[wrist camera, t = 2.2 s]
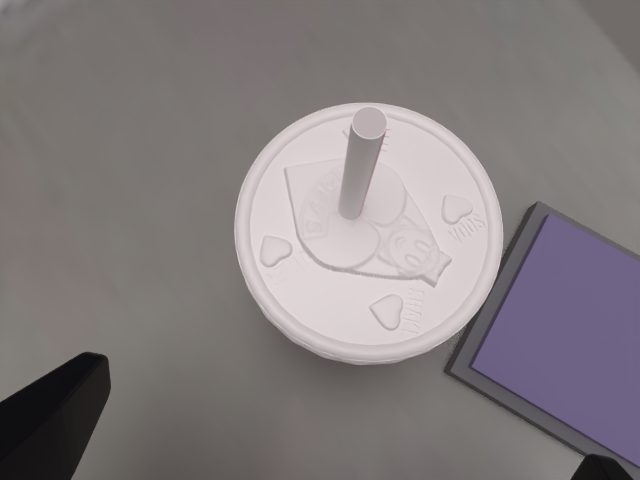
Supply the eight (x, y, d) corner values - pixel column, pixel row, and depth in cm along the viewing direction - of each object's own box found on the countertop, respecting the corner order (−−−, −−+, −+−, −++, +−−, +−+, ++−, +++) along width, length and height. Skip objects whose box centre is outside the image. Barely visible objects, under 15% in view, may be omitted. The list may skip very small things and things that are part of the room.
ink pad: (628, 482, 19) (654, 491, 18) (443, 371, 20) (453, 371, 19) (702, 303, 21) (731, 298, 20) (528, 208, 22) (543, 196, 21)
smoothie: (324, 186, 22) (342, -100, 9) (450, 268, 21) (687, 94, 8) (236, 307, 21) (94, 193, 7) (367, 400, 20) (479, 464, 7)
